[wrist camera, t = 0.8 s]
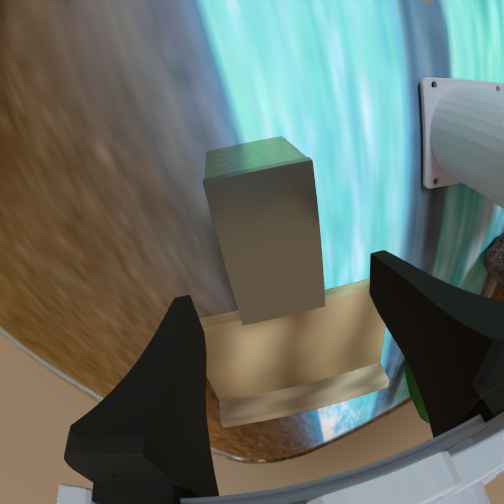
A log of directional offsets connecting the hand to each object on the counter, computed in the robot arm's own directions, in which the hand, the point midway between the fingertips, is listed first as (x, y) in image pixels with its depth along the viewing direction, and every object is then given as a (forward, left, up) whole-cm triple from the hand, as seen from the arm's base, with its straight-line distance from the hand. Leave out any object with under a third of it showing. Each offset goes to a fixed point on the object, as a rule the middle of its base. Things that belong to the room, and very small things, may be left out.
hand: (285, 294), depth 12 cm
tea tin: (0, 0, -9) cm, 9 cm away
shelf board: (-1, +13, -9) cm, 16 cm away
